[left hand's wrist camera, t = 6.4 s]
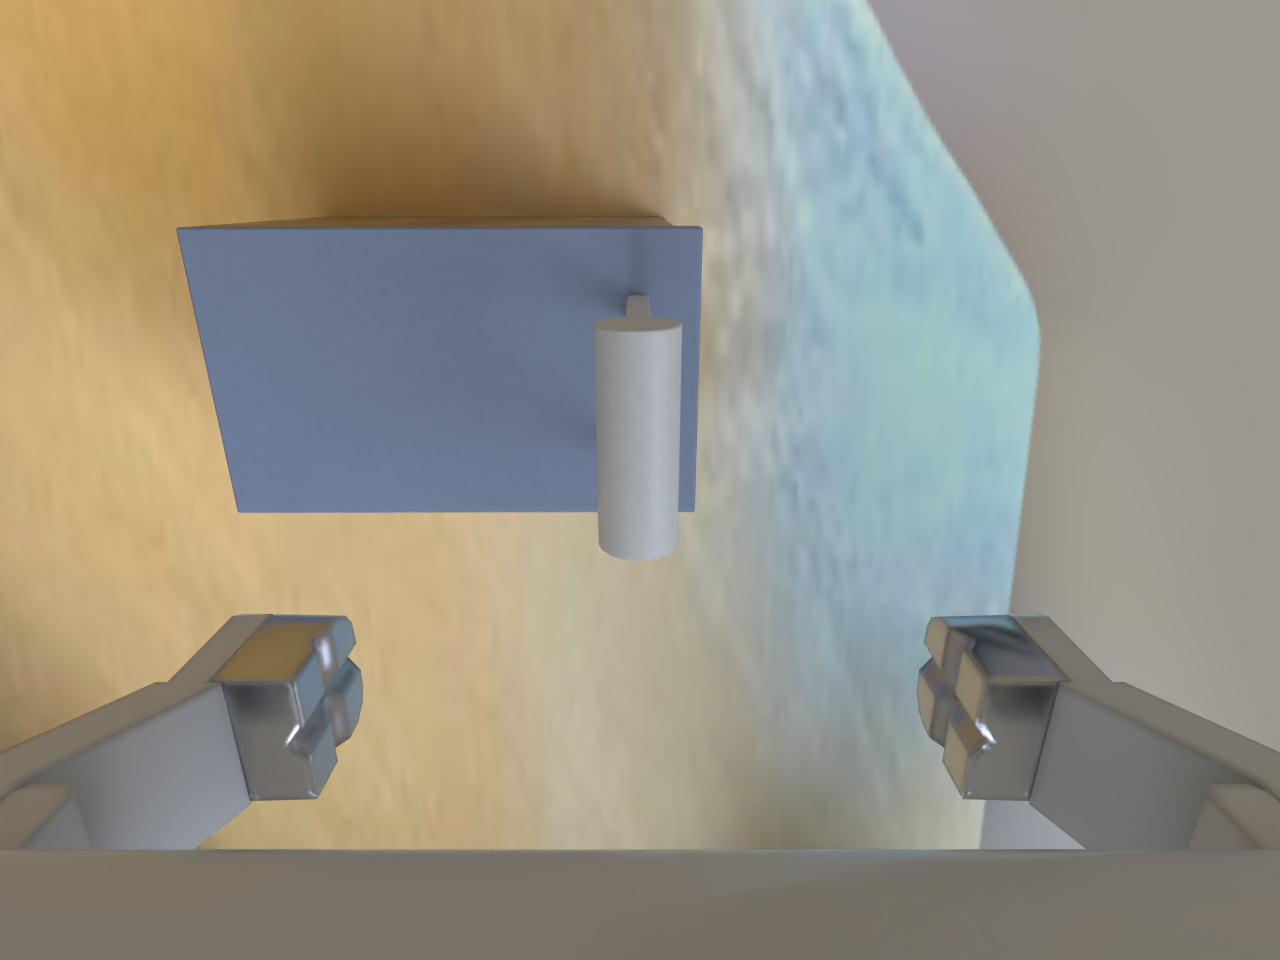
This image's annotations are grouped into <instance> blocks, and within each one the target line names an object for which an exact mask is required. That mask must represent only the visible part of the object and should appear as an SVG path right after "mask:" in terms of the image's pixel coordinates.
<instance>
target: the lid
mask: <svg viewBox="0 0 1280 960" xmlns="http://www.w3.org/2000/svg"><path fill="white" fill-rule="evenodd" d="M177 235H178V239H179V244H180V248H181V253H182V258H183V262H184V267H185V271H186V276H187V281H188V285H189V290H190V294H191V299H192V303H193V308H194V313H195V317H196V322H197V326H198V331H199V335H200V340H201V345H202V349H203V354H204V358H205V363H206V368H207V372H208V377H209V381H210V386H211V390H212V395H213V400H214V404H215V409H216V413H217V418H218V422H219V427H220V432H221V436H222V441H223V445H224V450H225V455H226V459H227V464H228V468H229V473H230V477H231V482H232V487H233V491H234V496H235V500H236V505H237V509H238V512H239V513H362V512H598V525H599V545H600V547H601V549H602V550H603V551H604V552H606V553H607V554H609V555H611V556H613V557H616V558H620V559H625V560H637V561H640V560H651V559H656V558H660V557H663V556H666V555H668V554H669V553H671V552H672V551H673V550H674V549H675V548H676V546H677V544H678V512H694V510H695V481H696V447H697V412H698V378H699V343H700V309H701V274H702V239H703V229H702V228H701V227H699V226H194V227H180V228H177Z"/></svg>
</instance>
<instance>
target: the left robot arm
mask: <svg viewBox="0 0 1280 960" xmlns="http://www.w3.org/2000/svg"><path fill="white" fill-rule="evenodd" d="M355 644H356V640H355V635H354V630H353V625H352V622H351V621H350V620H349V619H348V618H347V617H346V616H330V615H279V614H277V615H273V614H242V615H237V616H232V617H231V618H230V619H229V620H228V621H227V622H226V623H225V624H224V625H223V626H222V627H221V628H220V629H219V630H218V631H217V632H216V633H215V634H214V635H213V636H212V637H211V638H210V639H209V640H208V641H207V642H206V643H205V645H204V646H203V647H202V648H201V649H200V650H199V651H198V652H197V653H196V654H195V655H194V656H193V657H192V658H191V659H190V660H189V661H188V662H187V663H186V664H185V665H184V666H183V667H182V668H181V669H180V670H179V671H178V672H177V673H176V674H175V675H174V676H173V677H172V678H171V679H170V680H169V681H168V682H155V683H153V684H151V685H148V686H146V687H144V688H142V689H139V690H137V691H135V692H133V693H131V694H128V695H126V696H124V697H122V698H119V699H117V700H115V701H113V702H111V703H108V704H106V705H104V706H102V707H99V708H97V709H95V710H93V711H91V712H88V713H86V714H84V715H82V716H79V717H77V718H75V719H73V720H71V721H68V722H66V723H64V724H62V725H60V726H57V727H55V728H53V729H51V730H48V731H46V732H44V733H42V734H40V735H37V736H35V737H33V738H31V739H28V740H26V741H24V742H22V743H20V744H17V745H15V746H13V747H11V748H8V749H6V750H4V751H2V752H0V960H1280V752H1278V751H1276V750H1273V749H1271V748H1269V747H1267V746H1264V745H1262V744H1260V743H1258V742H1256V741H1253V740H1251V739H1249V738H1247V737H1245V736H1242V735H1240V734H1238V733H1236V732H1233V731H1231V730H1229V729H1227V728H1225V727H1222V726H1220V725H1218V724H1216V723H1214V722H1211V721H1209V720H1207V719H1205V718H1202V717H1200V716H1198V715H1196V714H1194V713H1191V712H1189V711H1187V710H1185V709H1183V708H1180V707H1178V706H1176V705H1174V704H1171V703H1169V702H1167V701H1165V700H1163V699H1160V698H1158V697H1156V696H1154V695H1152V694H1149V693H1147V692H1145V691H1143V690H1141V689H1138V688H1136V687H1134V686H1132V685H1129V684H1127V683H1125V682H1112V681H1111V680H1110V679H1109V678H1108V677H1107V676H1106V675H1105V674H1104V673H1103V672H1102V671H1101V670H1100V669H1099V668H1098V667H1097V666H1096V665H1095V664H1094V663H1093V662H1092V661H1091V660H1090V659H1089V658H1088V657H1087V656H1086V655H1085V654H1084V653H1083V652H1082V650H1081V649H1080V648H1079V647H1078V646H1077V645H1076V644H1075V643H1074V642H1073V641H1072V640H1071V639H1070V638H1069V637H1068V636H1067V635H1066V634H1065V633H1064V632H1063V631H1062V630H1061V629H1060V628H1059V627H1058V626H1057V625H1056V624H1055V623H1054V622H1053V621H1052V620H1051V619H1050V618H1049V617H1047V616H1044V615H1042V614H1018V615H987V616H947V617H931V619H930V621H929V623H928V626H927V628H926V634H925V639H924V644H925V646H926V647H927V649H928V650H929V652H930V654H931V655H932V658H931V659H930V660H929V661H928V662H927V663H926V664H925V665H924V666H923V667H922V668H921V669H920V670H919V677H918V685H917V699H918V710H919V713H920V717H921V720H922V723H923V726H924V728H925V730H926V732H927V734H928V736H929V738H931V739H932V740H934V741H935V742H937V743H938V744H940V745H941V746H943V747H944V748H945V749H944V755H943V760H942V762H943V764H944V766H945V767H946V769H947V771H948V773H949V775H950V777H951V778H952V780H953V782H954V784H955V786H956V788H957V789H958V791H959V793H960V795H961V797H962V799H978V800H1015V801H1030V802H1029V804H1030V805H1031V806H1032V807H1034V808H1035V809H1036V810H1038V811H1039V812H1040V813H1041V814H1043V815H1044V816H1045V817H1046V818H1048V819H1049V820H1050V821H1052V822H1053V823H1054V824H1055V825H1056V826H1058V827H1059V828H1060V829H1061V830H1063V831H1064V832H1065V833H1067V834H1068V835H1069V836H1070V837H1072V838H1073V839H1074V840H1075V841H1077V842H1078V843H1079V844H1080V845H1082V846H1083V847H1084V848H1085V849H997V850H996V849H989V850H988V849H886V850H482V849H195V848H196V847H197V846H199V845H200V844H201V843H202V842H204V841H205V840H206V839H207V838H209V837H210V836H211V835H212V834H214V833H215V832H216V831H217V830H219V829H220V828H221V827H223V826H224V825H225V824H226V823H228V822H229V821H230V820H231V819H233V818H234V817H235V816H236V815H238V814H239V813H240V812H242V811H243V810H244V809H245V808H247V807H248V806H249V805H250V804H251V803H250V801H265V800H300V799H318V797H319V795H320V793H321V791H322V790H323V788H324V786H325V784H326V782H327V780H328V778H329V777H330V775H331V773H332V771H333V769H334V767H335V766H336V764H337V762H338V760H337V755H336V749H335V748H336V747H337V746H339V745H340V744H342V743H343V742H345V741H346V740H348V739H349V738H350V737H351V736H352V734H353V732H354V730H355V728H356V726H357V724H358V721H359V716H360V712H361V707H362V703H363V682H362V676H361V670H360V669H359V668H358V667H357V666H356V665H355V664H354V663H353V662H352V661H351V660H350V659H349V658H348V655H349V654H350V652H351V650H352V649H353V647H354V646H355Z"/></svg>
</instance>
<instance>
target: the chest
mask: <svg viewBox="0 0 1280 960" xmlns="http://www.w3.org/2000/svg"><path fill="white" fill-rule="evenodd" d="M208 226H673V225H671V224H670V223H669V222H668V221H667V220H666V219H665V218H664V217H319V218H305V219H291V220H277V221H263V222H250V223H236V224H222V225H208Z"/></svg>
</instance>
